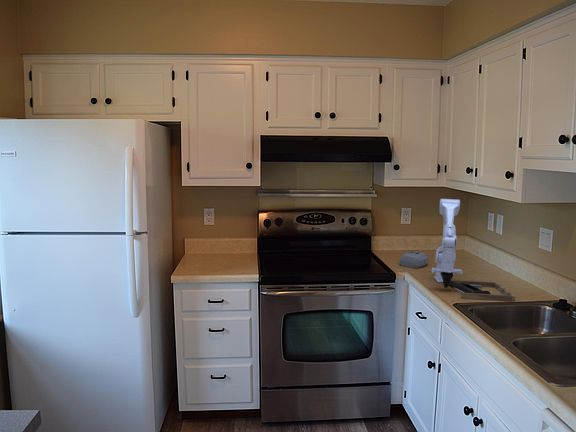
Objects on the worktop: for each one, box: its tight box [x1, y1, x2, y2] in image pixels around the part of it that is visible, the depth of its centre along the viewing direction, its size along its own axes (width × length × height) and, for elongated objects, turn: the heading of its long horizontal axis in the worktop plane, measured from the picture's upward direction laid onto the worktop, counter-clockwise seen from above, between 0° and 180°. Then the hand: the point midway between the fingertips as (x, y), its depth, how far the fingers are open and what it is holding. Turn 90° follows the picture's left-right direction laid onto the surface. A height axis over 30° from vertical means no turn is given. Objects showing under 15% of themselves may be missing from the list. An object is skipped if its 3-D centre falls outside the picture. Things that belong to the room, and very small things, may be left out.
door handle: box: [448, 279, 492, 294], centre depth 222 cm, size 3×20×16 cm
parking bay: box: [451, 279, 516, 302], centre depth 219 cm, size 23×24×2 cm
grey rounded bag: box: [399, 250, 430, 269], centre depth 271 cm, size 15×8×20 cm
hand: (445, 287), depth 220 cm, fingers closed
